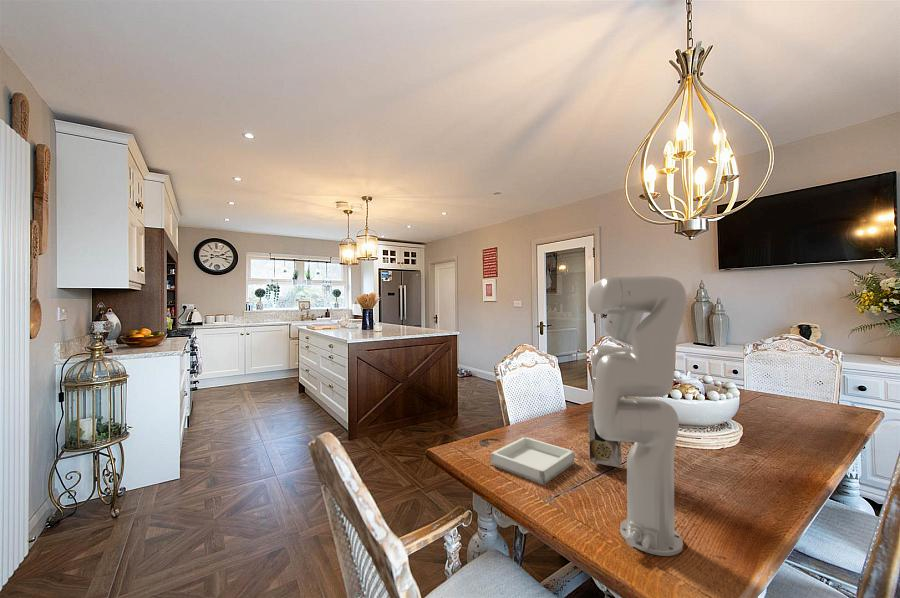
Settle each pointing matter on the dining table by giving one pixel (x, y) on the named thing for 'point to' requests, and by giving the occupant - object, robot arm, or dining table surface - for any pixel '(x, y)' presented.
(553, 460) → the tray
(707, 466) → the dining table surface
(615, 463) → the coffee box
